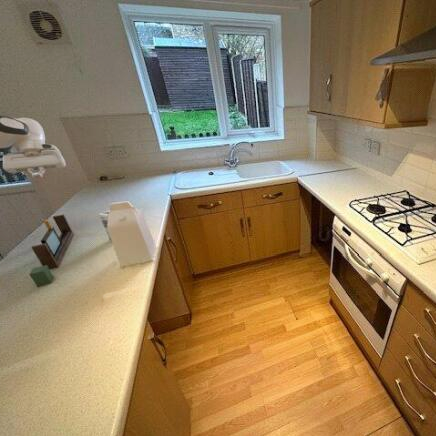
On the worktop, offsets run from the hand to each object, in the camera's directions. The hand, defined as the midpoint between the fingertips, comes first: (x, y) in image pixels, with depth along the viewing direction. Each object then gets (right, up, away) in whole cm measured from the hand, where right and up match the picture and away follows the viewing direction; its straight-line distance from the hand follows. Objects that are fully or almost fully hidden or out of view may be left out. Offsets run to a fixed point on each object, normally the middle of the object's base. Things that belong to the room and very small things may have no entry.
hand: (37, 177), depth 107 cm
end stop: (+19, -43, -15) cm, 49 cm away
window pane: (+9, -33, 0) cm, 34 cm away
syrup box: (+27, -29, +13) cm, 42 cm away
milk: (+46, -35, -1) cm, 58 cm away
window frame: (+7, -33, +4) cm, 34 cm away
